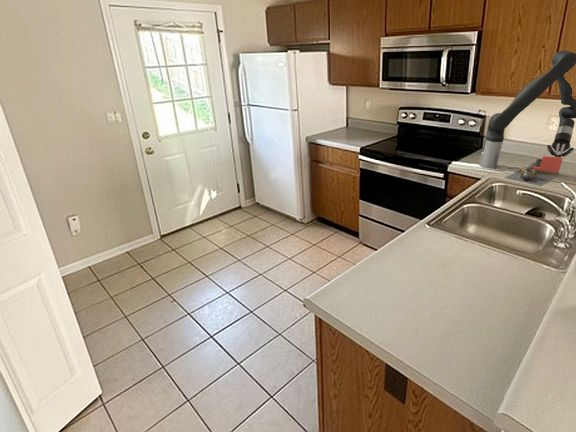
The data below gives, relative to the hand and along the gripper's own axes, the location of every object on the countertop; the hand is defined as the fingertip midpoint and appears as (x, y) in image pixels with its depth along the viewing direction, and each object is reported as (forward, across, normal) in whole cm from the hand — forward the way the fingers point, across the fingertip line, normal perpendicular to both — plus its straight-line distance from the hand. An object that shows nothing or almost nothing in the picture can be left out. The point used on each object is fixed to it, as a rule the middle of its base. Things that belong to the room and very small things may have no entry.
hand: (556, 161), depth 205 cm
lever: (+7, -6, -1) cm, 10 cm away
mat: (+12, -10, +3) cm, 16 cm away
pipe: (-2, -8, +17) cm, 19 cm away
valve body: (+12, -12, +2) cm, 17 cm away
